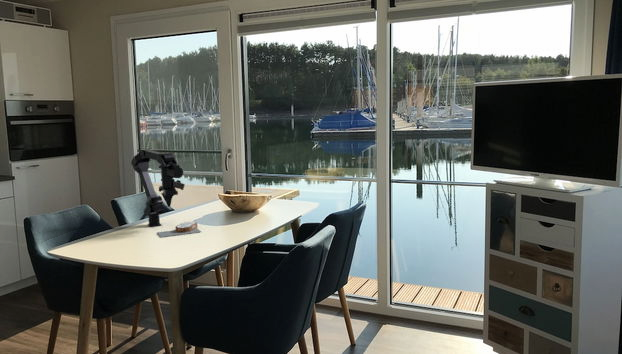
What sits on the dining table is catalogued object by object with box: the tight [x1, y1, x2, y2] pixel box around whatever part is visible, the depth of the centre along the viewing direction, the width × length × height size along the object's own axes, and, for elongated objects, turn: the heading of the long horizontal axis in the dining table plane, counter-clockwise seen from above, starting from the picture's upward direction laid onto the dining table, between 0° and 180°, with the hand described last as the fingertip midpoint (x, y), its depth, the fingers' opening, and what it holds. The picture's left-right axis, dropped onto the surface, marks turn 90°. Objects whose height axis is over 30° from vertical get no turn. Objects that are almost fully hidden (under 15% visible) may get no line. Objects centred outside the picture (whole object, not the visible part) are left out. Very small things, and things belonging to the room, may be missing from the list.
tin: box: [175, 221, 198, 233], centre depth 276 cm, size 15×3×8 cm
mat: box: [156, 227, 202, 238], centre depth 271 cm, size 11×20×1 cm, turn 116°
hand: (169, 206), depth 279 cm, fingers closed
